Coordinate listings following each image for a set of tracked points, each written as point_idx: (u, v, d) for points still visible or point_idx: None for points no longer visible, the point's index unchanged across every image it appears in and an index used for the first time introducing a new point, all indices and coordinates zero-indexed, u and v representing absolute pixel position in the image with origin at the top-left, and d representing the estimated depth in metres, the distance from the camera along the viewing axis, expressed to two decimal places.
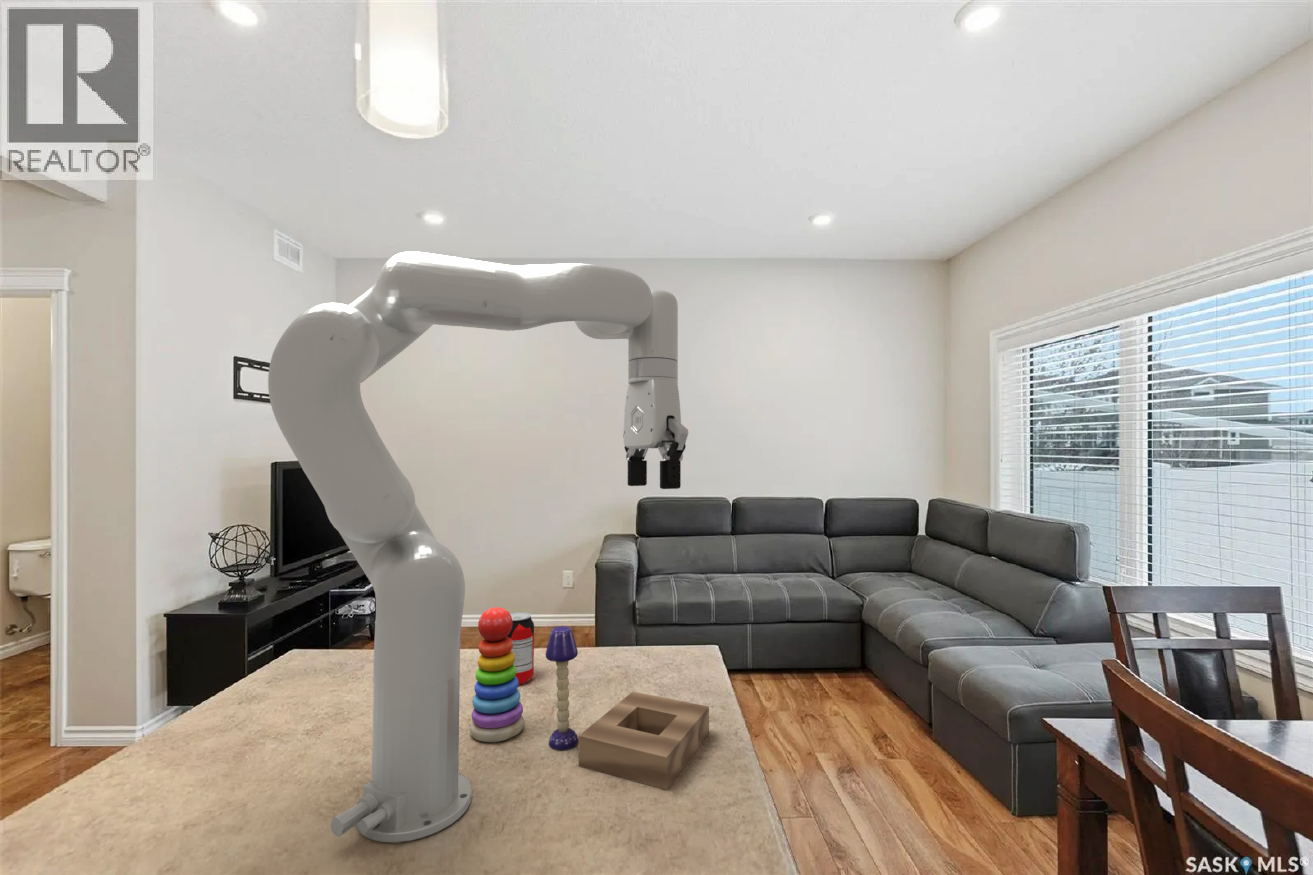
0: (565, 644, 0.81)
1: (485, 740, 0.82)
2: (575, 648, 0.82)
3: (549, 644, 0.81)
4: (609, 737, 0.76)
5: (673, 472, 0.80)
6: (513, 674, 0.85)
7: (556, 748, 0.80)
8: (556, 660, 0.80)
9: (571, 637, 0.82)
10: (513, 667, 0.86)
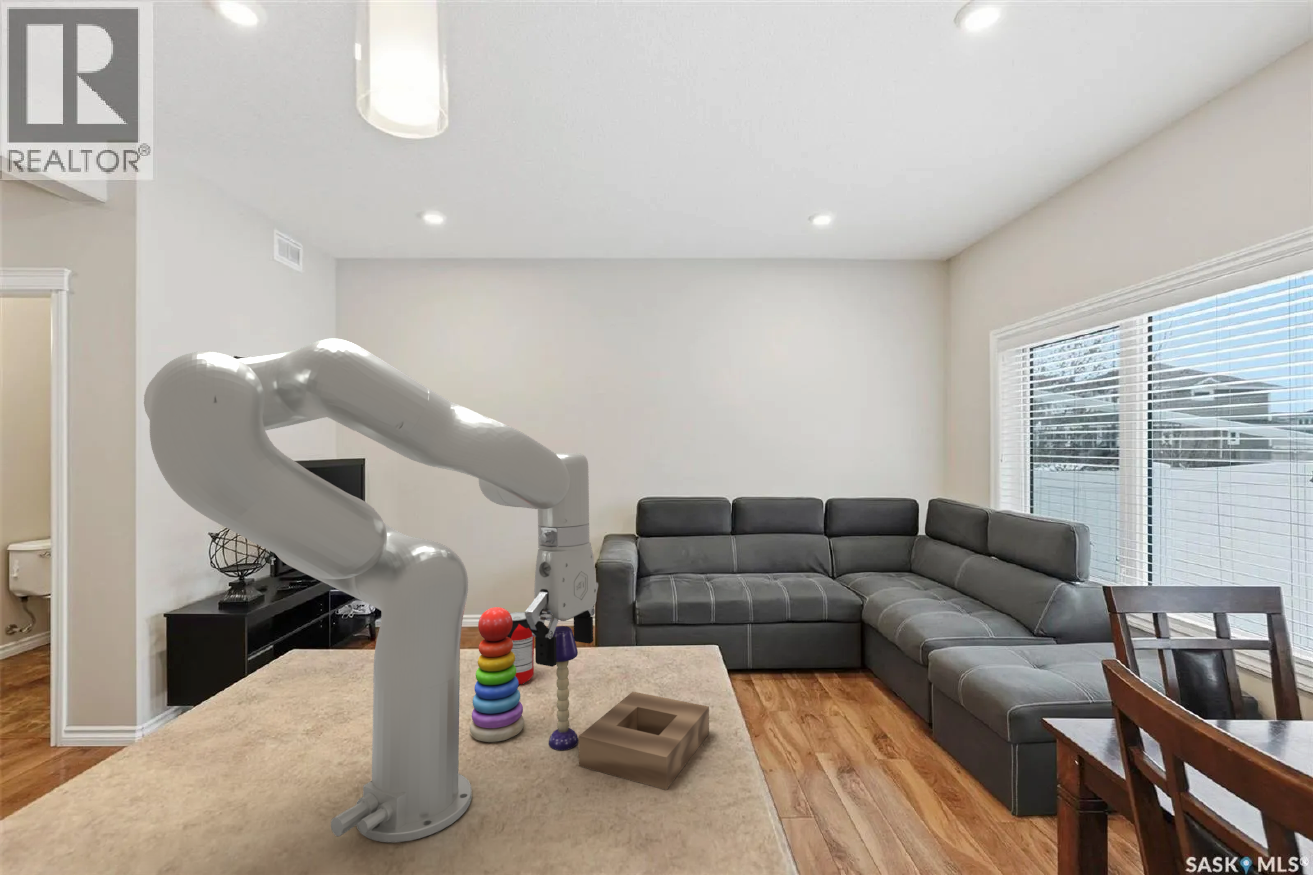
0: (565, 644, 0.81)
1: (485, 740, 0.82)
2: (575, 648, 0.82)
3: None
4: (609, 737, 0.76)
5: None
6: (513, 674, 0.85)
7: (556, 748, 0.80)
8: None
9: (571, 637, 0.82)
10: (513, 667, 0.86)
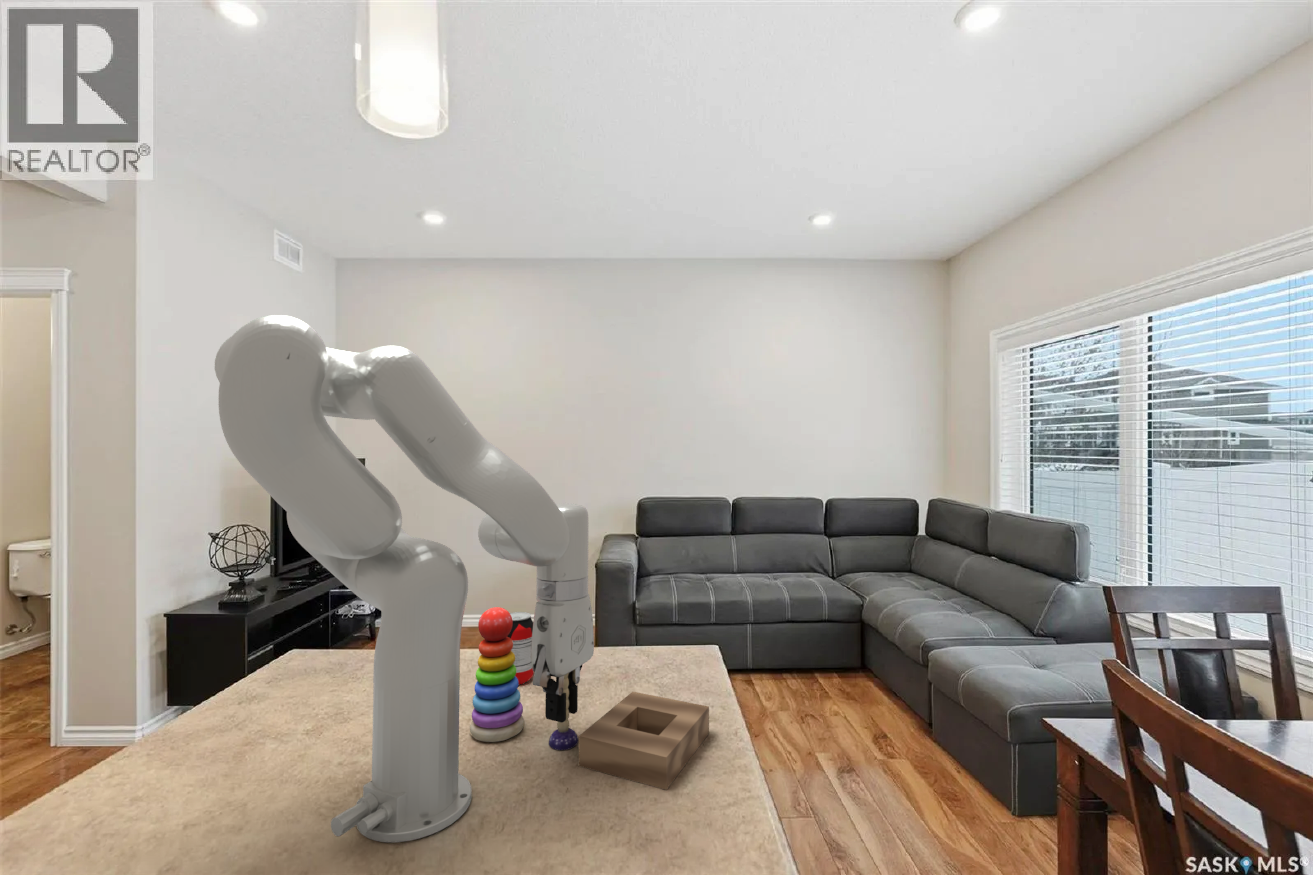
0: None
1: (485, 740, 0.82)
2: None
3: None
4: (609, 737, 0.76)
5: None
6: (513, 674, 0.85)
7: (556, 748, 0.80)
8: None
9: None
10: (513, 667, 0.86)
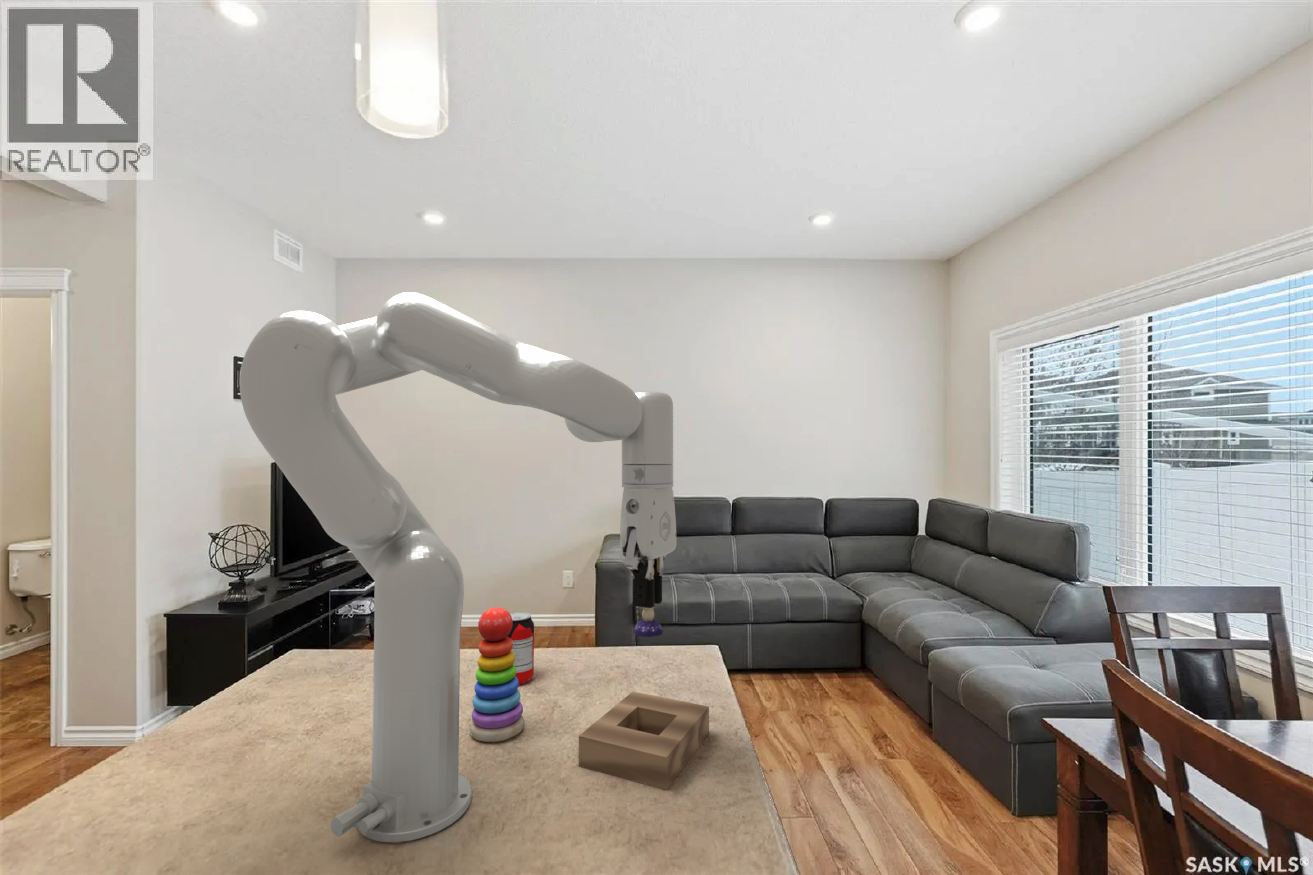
0: None
1: (485, 740, 0.82)
2: None
3: None
4: (609, 737, 0.76)
5: None
6: (513, 674, 0.85)
7: (643, 635, 0.79)
8: None
9: None
10: (513, 667, 0.86)
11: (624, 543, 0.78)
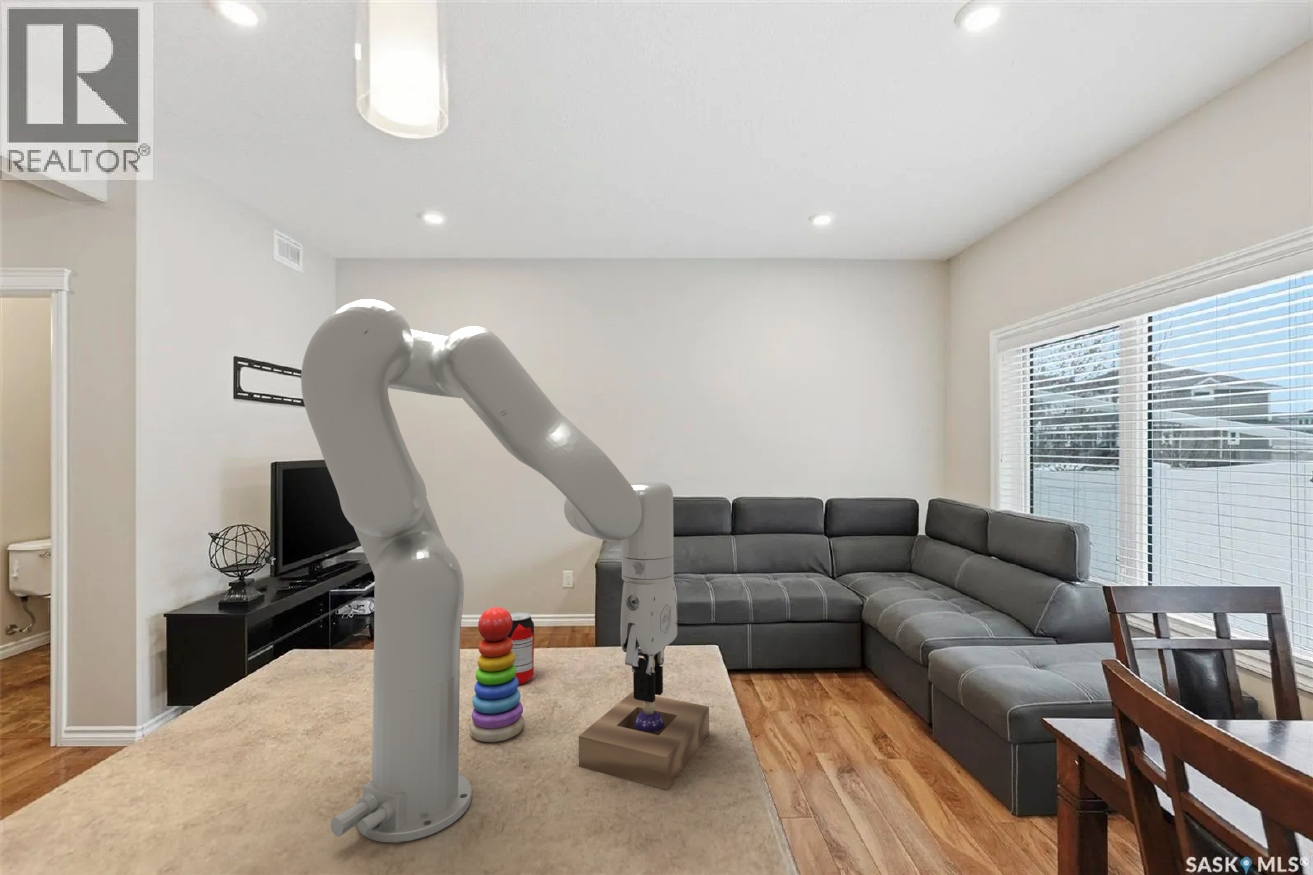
0: None
1: (485, 740, 0.82)
2: None
3: None
4: (609, 737, 0.76)
5: None
6: (513, 674, 0.85)
7: (644, 730, 0.79)
8: None
9: None
10: (513, 667, 0.86)
11: (624, 639, 0.77)
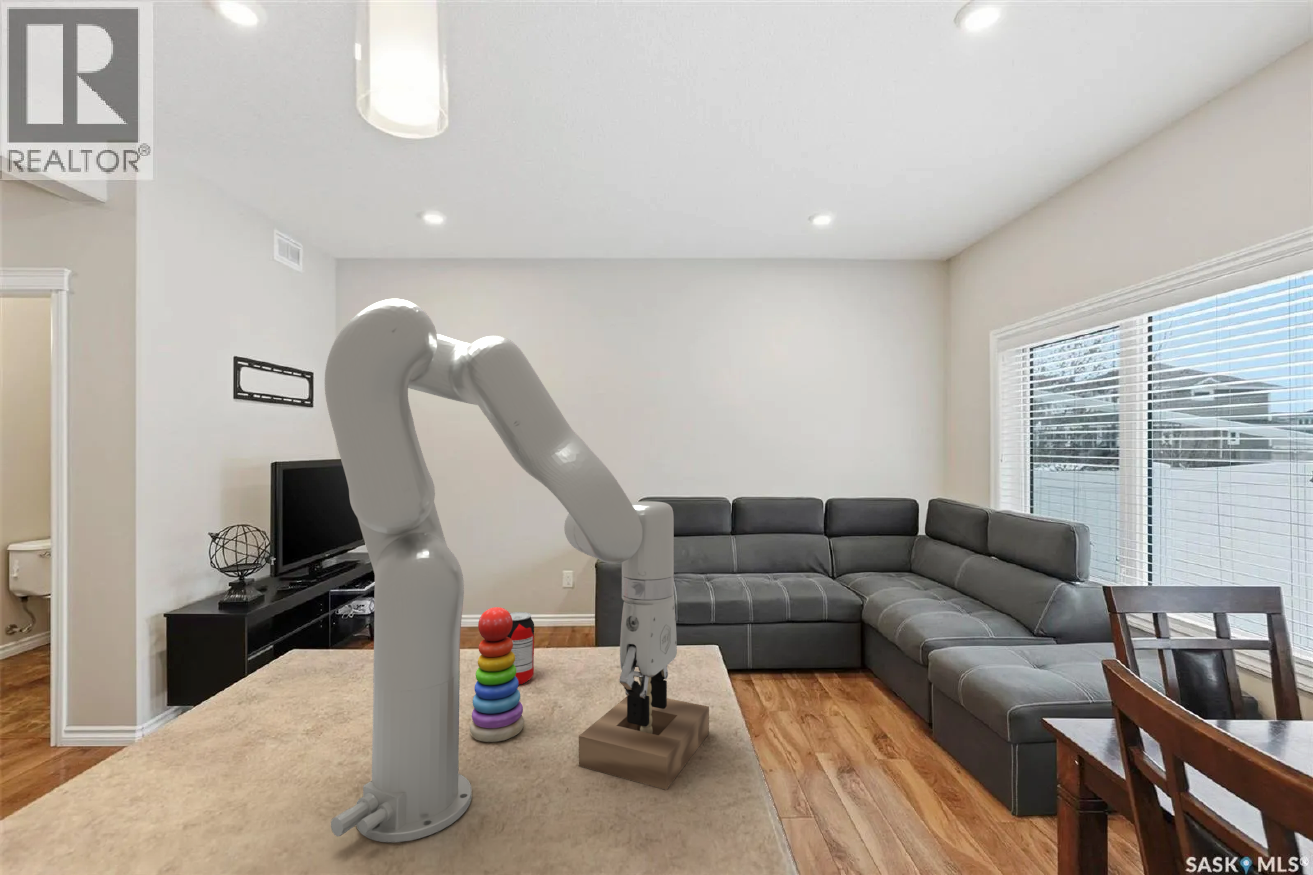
0: None
1: (485, 740, 0.82)
2: None
3: None
4: (609, 737, 0.76)
5: None
6: (513, 674, 0.85)
7: None
8: None
9: None
10: (513, 667, 0.86)
11: (624, 660, 0.77)
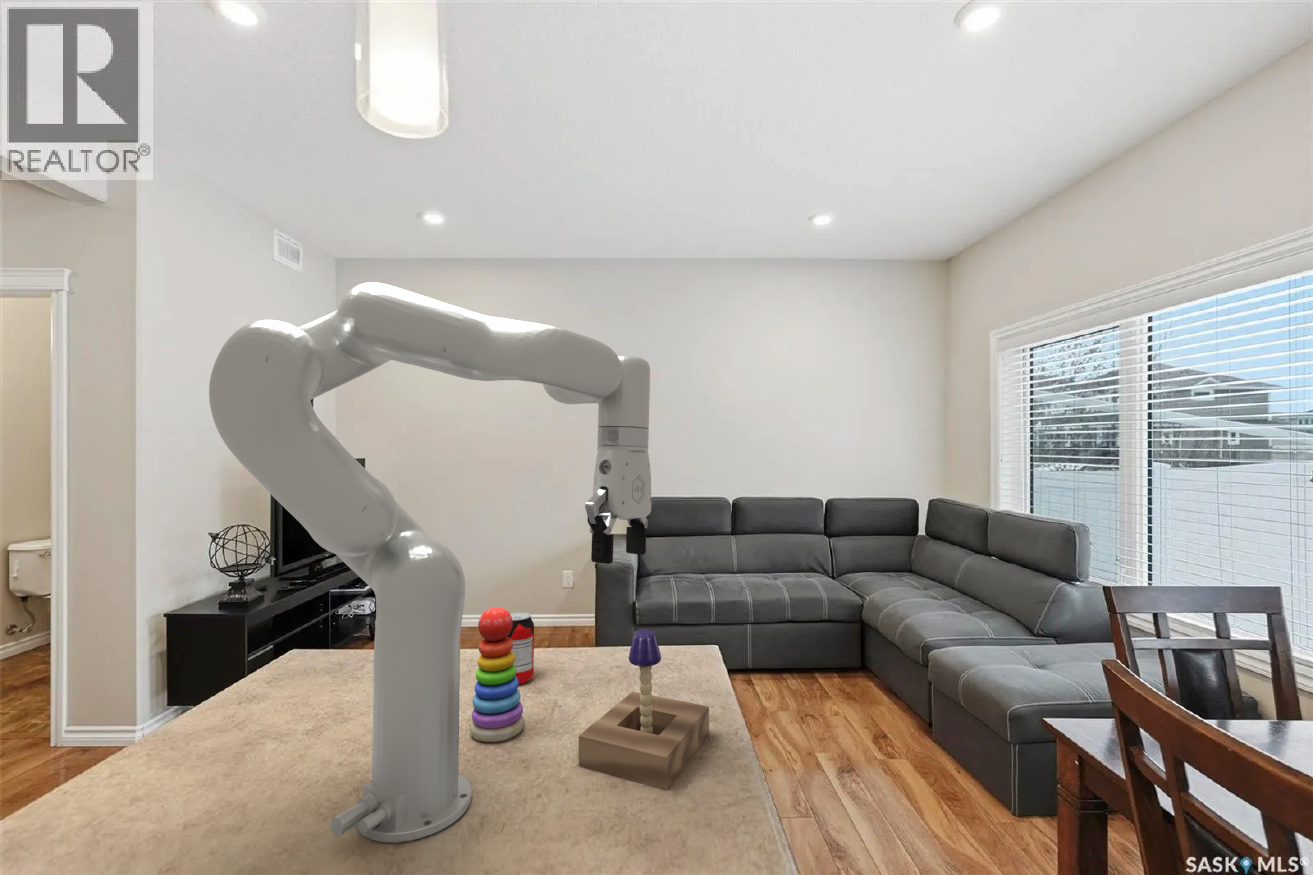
0: (650, 648, 0.79)
1: (485, 740, 0.82)
2: (659, 652, 0.80)
3: (633, 648, 0.80)
4: (609, 737, 0.76)
5: None
6: (513, 674, 0.85)
7: None
8: (641, 665, 0.79)
9: (655, 641, 0.80)
10: (513, 667, 0.86)
11: None
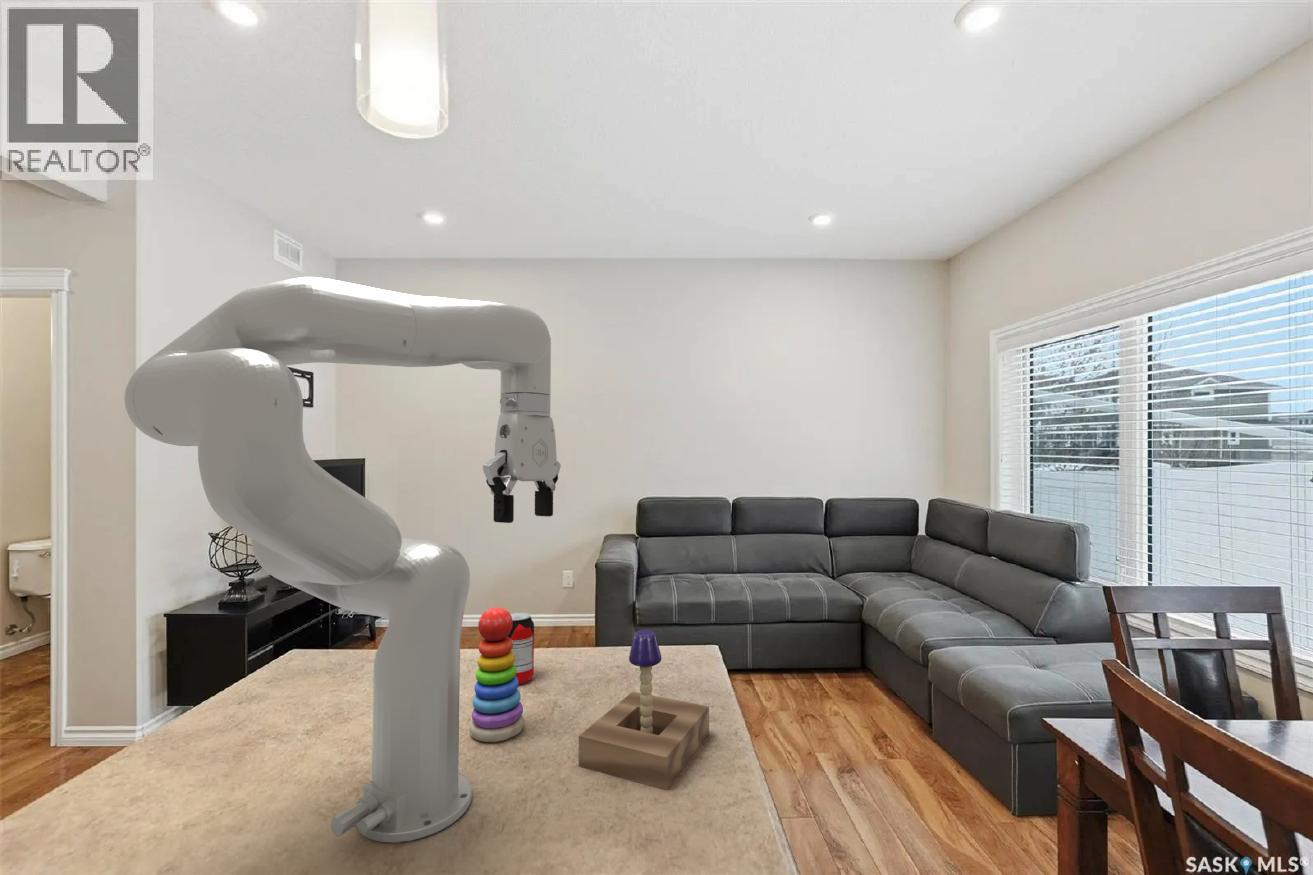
0: (650, 648, 0.79)
1: (485, 740, 0.82)
2: (659, 652, 0.80)
3: (633, 648, 0.80)
4: (609, 737, 0.76)
5: None
6: (513, 674, 0.85)
7: None
8: (642, 665, 0.78)
9: (655, 641, 0.80)
10: (513, 667, 0.86)
11: None
